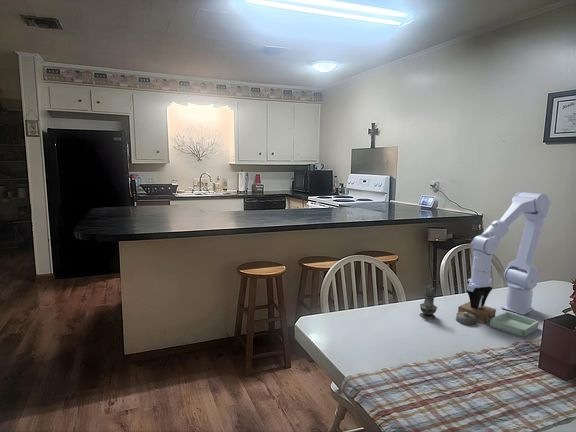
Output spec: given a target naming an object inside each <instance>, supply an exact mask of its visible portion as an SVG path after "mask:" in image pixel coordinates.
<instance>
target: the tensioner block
mask: <svg viewBox="0 0 576 432" xmlns="http://www.w3.org/2000/svg"><path fill="white" fill-rule="evenodd" d="M496 313H497V308H494V307H489V306H486V305H484V306H481V310H480V311H479V310H476V309H473V308H471V304H470V301H467V302H466V303H464V304H462V305H459V306H458V308H457V313H456V316H455V321H457V322H458V323H459V324H462V325H467V326H473V325H475V324H476V322H479V323H482V324H485V323H487V322H490V320H491V319H492V318H494V317H496Z"/></svg>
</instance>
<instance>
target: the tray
mask: <svg viewBox="0 0 576 432" xmlns="http://www.w3.org/2000/svg"><path fill="white" fill-rule="evenodd" d="M539 324H540V321H539V320H537V319H533V318H530V317H528V316H527V317H526V316H524V315H521V314H518V313H515V312H512V311H508V310H506V311H503V312H502V313H500V314H498V315H495V317H494V318H492V319H491V320H489V327H491V328H492V329H493V328H494V329H497V330H499V331H502V332H504V333H507V334H510V335H514V336H516V337H519V338H521V339H525V338H526V337H527V336H529V335H531V333H533V332H535V331H536V330H539Z"/></svg>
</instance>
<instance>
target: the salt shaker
mask: <svg viewBox="0 0 576 432" xmlns="http://www.w3.org/2000/svg"><path fill="white" fill-rule="evenodd" d="M424 293H425V294H423V296H424V301H423V303H420V304H419V307H420V311H421V313H420V314H419V317H421V318H423V319H427V320H435V319H436V318H437V317H436V315H435V314H436V311H437V309H438V306H437V305H435V303H434V300H435V287H434V286H432V284H431V283H429V285H426V286H425V292H424Z"/></svg>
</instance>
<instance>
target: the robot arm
mask: <svg viewBox="0 0 576 432" xmlns="http://www.w3.org/2000/svg"><path fill="white" fill-rule="evenodd" d="M511 198H512V199H511V205H510V206H509V207H508V209H507V210H506V211H505V212H504V213H503V215H502V217H501V218H500V219H498V220H493V221H492V222H491V223H490V224H489V225H488V227H486V229H485V230H484V231H483V232H482V233H481V234H479V235H475V237H474V238H473V239H472V241H471V242H470V248H471V250H472V255H473V259H472V267H471V277H470V278H468V279H467V282H469V283H467V284H466V288H465V291H466V293H467V295H468V298H469V302H470V304H471V308H474V309H478V307H479V303H480V299H481V297H482V295H484V297H483V299H482V304H481V306H485V304H486V301H487V299H488V297H489V294H490V293H491V292H492V291H493V287H492V286H490V285H493V284H492V283H493V282H492V281H493V278H491V272H492V270H491V269H492V260H493V254H495V253H496V252H497V251H498V248H499V245H500V241H501V240H502V239H503V238H504V237H505V236H506V235H507V234H508V232H509V230H510V229H509V226H510V225H511V224H512V223H513V222H515V220H517V219H518V218H519V217H520V216H521V215H524V217H525V218H526V222H525V225H524V229H523V233H522V235H521V240H520V242H519V247H518V251H517V254H516V258H515V259H514V260H512V261H510V262H508V264H507V267H506V269H505V270H504V273H503V279H504V281H505V282H506V285H507V292H506V300H505V301H506V302H505V304H504V305H502V306H501V307H500V308H501V309H503V310H506V311H508V312H511V313H515V314H518V315H521V316H524V315H526V314H529V313H530V312H531V311H533V310H534V309H535V308H534V307H532V303H533V293H534V292H533V289H534V288H536V287H537V284H538V282H539V279H538V278H539V276H538V275H539V269H538V268H537V267H536V266H535V265H534V258H535V255H536V253H537V248H538V244H539V240H540V236H541V234H542V230H543V226H544V222H545V219H546V218H547V217H548V213H549V209H550V205H551V201H550V199H549V196H548V195H547V194H545V193H535V192H524V191H518V192H516V193H515V195H514V196H513V197H511Z"/></svg>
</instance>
